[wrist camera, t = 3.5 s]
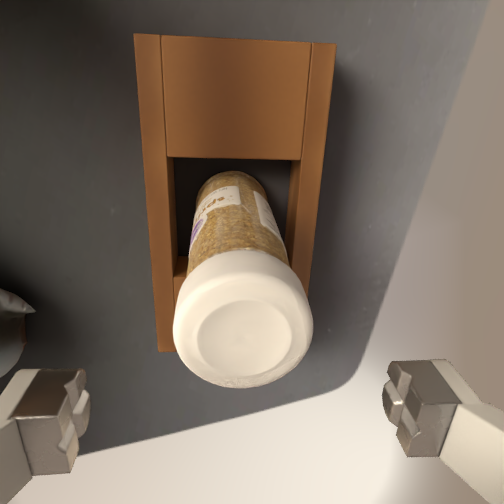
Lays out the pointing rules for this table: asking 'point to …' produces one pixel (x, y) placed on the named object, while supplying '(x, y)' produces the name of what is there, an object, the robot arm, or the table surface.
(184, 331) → the sprinkles bottle
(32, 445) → the robot arm
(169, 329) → the oak rack
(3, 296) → the lucky cat figurine
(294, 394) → the table surface
